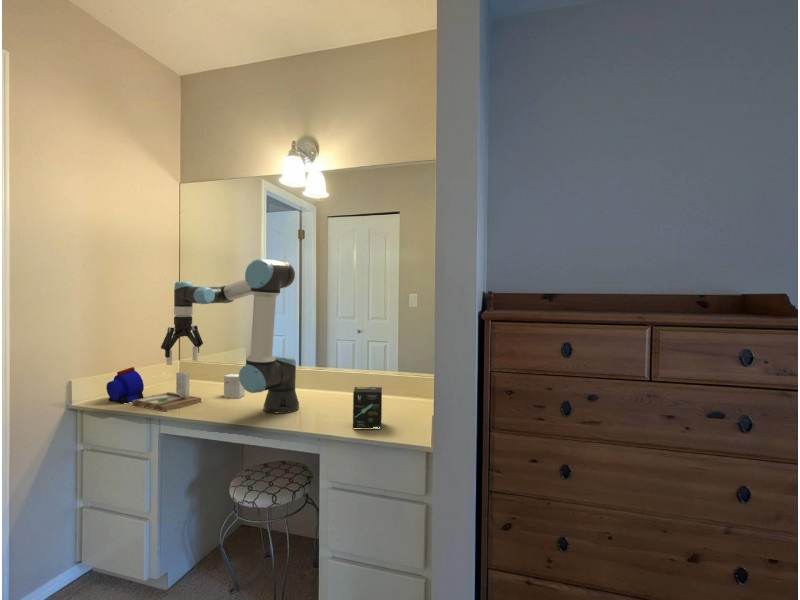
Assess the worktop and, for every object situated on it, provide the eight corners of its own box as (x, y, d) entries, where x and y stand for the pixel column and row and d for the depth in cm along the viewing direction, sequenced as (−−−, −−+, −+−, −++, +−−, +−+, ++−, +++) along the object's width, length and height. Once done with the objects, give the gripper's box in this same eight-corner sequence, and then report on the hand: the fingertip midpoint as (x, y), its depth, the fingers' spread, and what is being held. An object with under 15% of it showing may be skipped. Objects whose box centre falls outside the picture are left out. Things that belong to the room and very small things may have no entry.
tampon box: (381, 422, 181) (382, 386, 181) (381, 430, 172) (382, 391, 172) (354, 422, 181) (354, 386, 181) (352, 429, 172) (353, 391, 171)
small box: (244, 395, 221) (245, 374, 221) (239, 398, 216) (239, 376, 215) (229, 395, 222) (229, 373, 222) (223, 397, 216) (223, 375, 216)
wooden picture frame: (201, 402, 207) (201, 397, 207) (165, 411, 191) (166, 405, 191) (168, 396, 217) (168, 391, 217) (132, 404, 201) (132, 399, 201)
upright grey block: (189, 397, 205) (189, 373, 205) (185, 398, 203) (185, 374, 203) (170, 393, 211) (170, 370, 210) (165, 395, 209) (165, 371, 208)
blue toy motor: (145, 399, 210) (145, 367, 210) (118, 405, 199) (119, 371, 199) (129, 396, 216) (129, 365, 215) (102, 401, 205) (102, 368, 205)
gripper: (200, 314, 217) (199, 358, 218) (152, 316, 195) (151, 365, 195) (211, 315, 214) (210, 359, 215) (163, 317, 192) (163, 367, 192)
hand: (182, 362), depth 205 cm, fingers open, 13 cm apart
